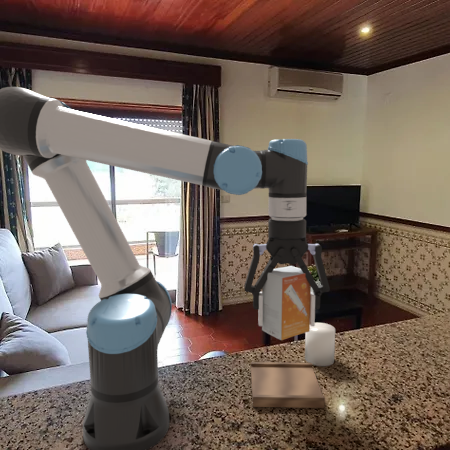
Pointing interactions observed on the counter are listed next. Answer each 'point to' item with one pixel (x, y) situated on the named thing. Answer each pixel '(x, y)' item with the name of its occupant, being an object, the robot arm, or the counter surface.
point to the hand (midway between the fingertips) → (285, 323)
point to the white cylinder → (320, 344)
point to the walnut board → (285, 385)
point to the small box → (286, 303)
